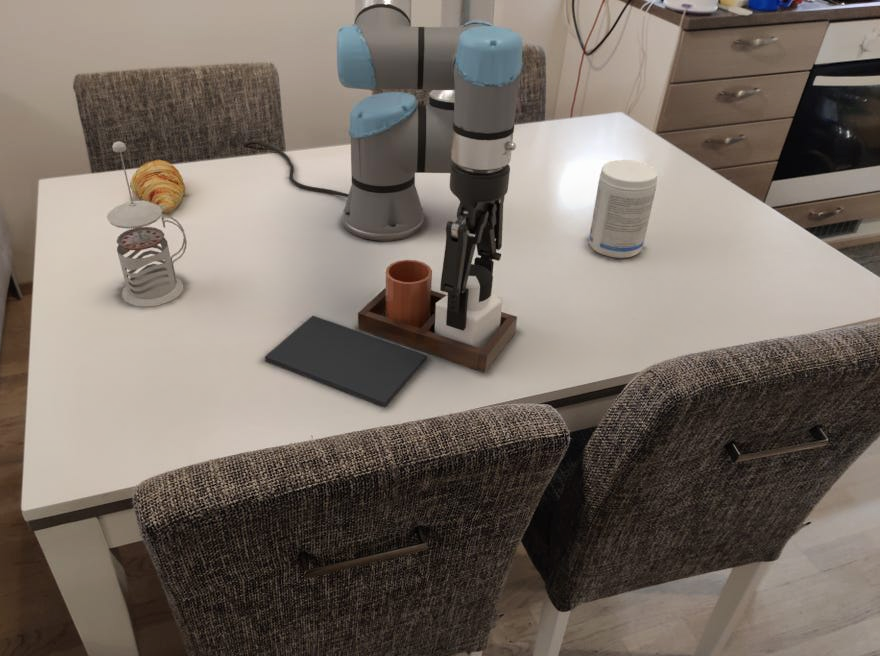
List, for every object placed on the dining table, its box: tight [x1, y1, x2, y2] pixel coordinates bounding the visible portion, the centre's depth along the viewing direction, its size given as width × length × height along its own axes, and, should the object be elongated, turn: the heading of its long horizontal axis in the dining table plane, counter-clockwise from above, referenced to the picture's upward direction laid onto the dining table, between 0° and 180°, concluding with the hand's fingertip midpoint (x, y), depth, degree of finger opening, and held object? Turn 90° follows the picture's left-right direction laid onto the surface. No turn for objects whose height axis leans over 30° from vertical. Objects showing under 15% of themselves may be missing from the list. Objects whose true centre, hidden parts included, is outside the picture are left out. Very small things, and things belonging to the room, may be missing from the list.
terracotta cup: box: [385, 259, 433, 328], centre depth 110 cm, size 7×7×9 cm
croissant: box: [129, 158, 186, 213], centre depth 145 cm, size 21×10×8 cm, turn 26°
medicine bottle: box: [434, 263, 504, 349], centre depth 105 cm, size 7×7×12 cm
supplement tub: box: [588, 159, 659, 259], centre depth 127 cm, size 10×10×15 cm
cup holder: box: [357, 286, 518, 373], centre depth 110 cm, size 21×11×3 cm, turn 61°
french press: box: [106, 140, 188, 308], centre depth 111 cm, size 10×12×25 cm
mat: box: [264, 315, 428, 408], centre depth 104 cm, size 20×12×1 cm, turn 61°
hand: (468, 311), depth 105 cm, fingers closed on medicine bottle, 8 cm apart
